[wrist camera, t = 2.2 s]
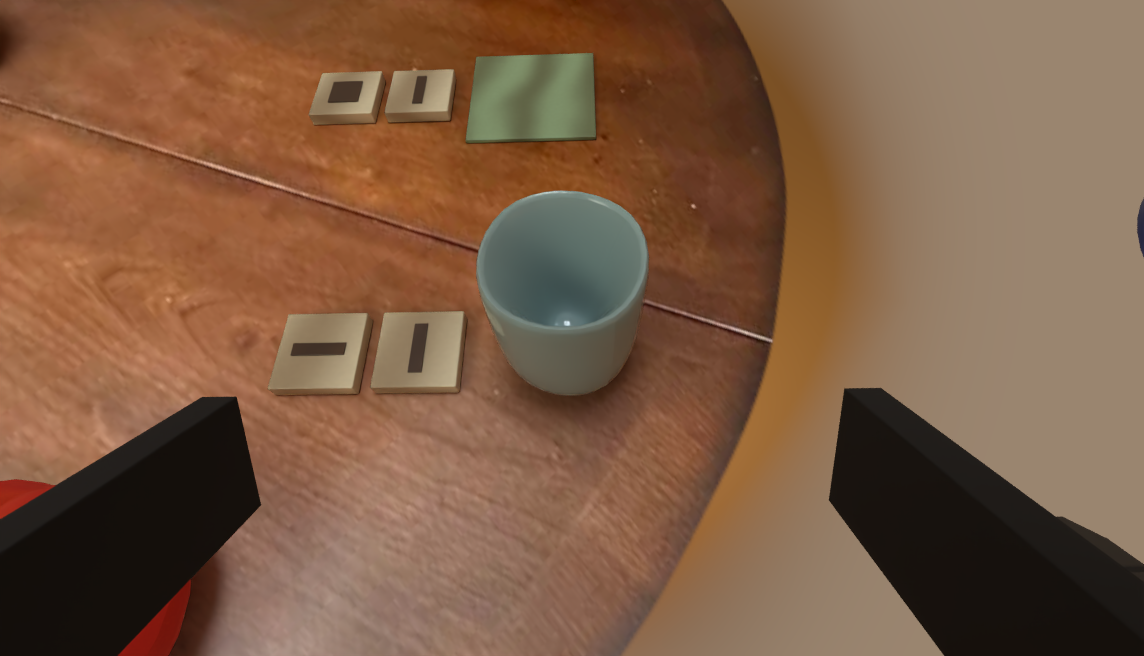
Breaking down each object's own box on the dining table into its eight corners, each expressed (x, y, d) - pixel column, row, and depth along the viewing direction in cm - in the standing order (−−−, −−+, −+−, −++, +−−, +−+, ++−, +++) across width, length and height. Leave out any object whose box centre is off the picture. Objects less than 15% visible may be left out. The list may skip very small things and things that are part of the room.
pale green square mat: (593, 56, 45) (593, 43, 44) (595, 139, 40) (596, 128, 39) (333, 64, 46) (328, 52, 45) (306, 147, 41) (299, 136, 40)
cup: (642, 307, 33) (660, 198, 24) (624, 424, 30) (638, 347, 21) (522, 289, 34) (498, 179, 25) (491, 401, 31) (451, 318, 22)
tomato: (261, 677, 25) (114, 708, 17) (-34, 849, 22) (-359, 975, 15) (208, 444, 30) (79, 390, 22) (-34, 561, 27) (-271, 544, 20)
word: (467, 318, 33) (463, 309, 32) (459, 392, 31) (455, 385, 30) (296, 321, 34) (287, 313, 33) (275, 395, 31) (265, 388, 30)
